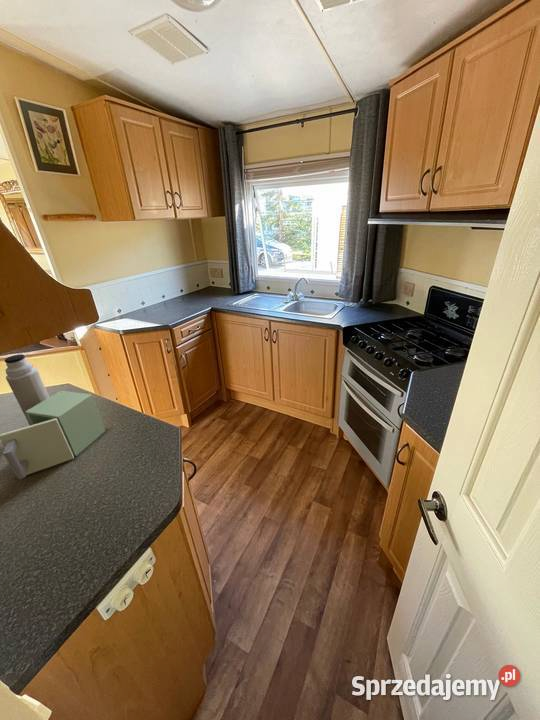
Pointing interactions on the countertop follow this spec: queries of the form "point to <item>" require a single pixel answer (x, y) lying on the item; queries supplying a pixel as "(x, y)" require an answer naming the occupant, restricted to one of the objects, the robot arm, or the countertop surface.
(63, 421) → the box
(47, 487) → the countertop surface
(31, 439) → the machine door
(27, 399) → the thermos bottle
